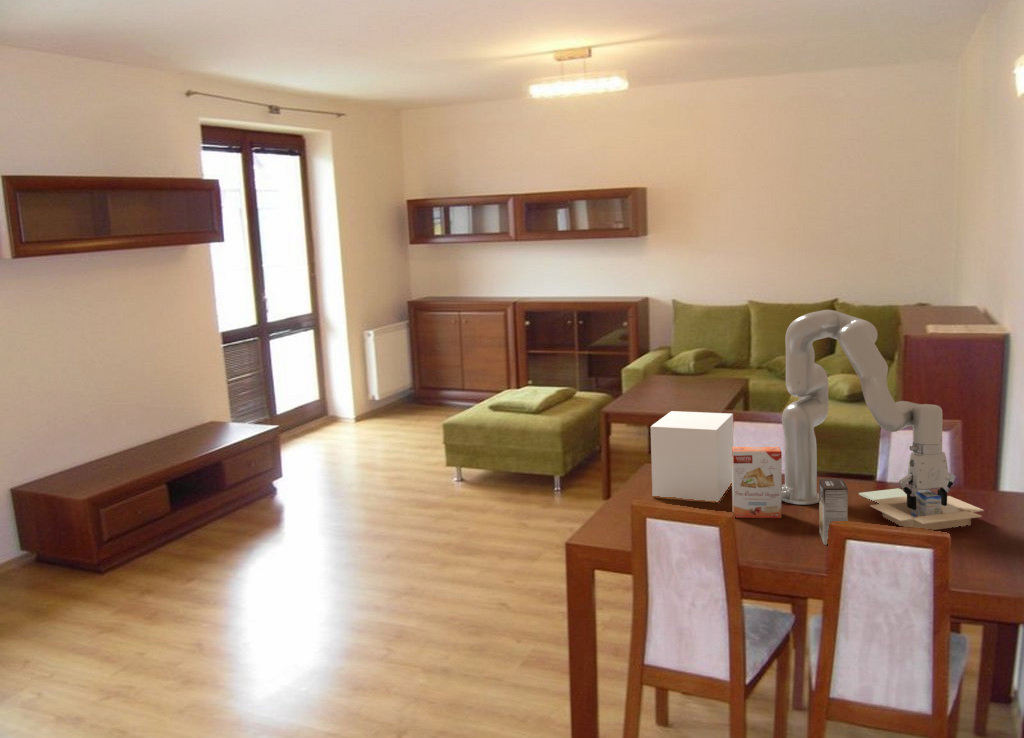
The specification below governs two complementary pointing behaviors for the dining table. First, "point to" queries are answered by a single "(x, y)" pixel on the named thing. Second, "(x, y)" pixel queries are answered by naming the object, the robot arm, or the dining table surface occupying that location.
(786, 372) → the robot arm
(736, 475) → the cracker box
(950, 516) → the carton
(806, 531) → the dining table surface
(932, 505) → the medicine box
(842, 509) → the coffee box
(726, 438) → the cube
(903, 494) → the sage board
